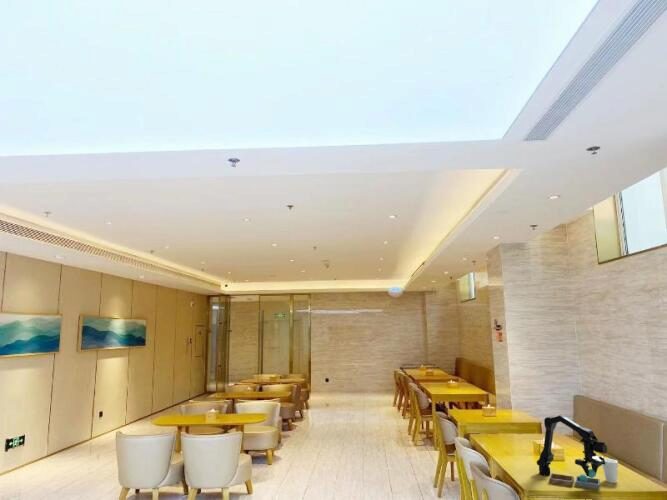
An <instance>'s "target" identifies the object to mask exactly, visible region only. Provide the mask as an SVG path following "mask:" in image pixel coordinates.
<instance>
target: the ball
mask: <svg viewBox="0 0 667 500" xmlns="http://www.w3.org/2000/svg"><path fill="white" fill-rule="evenodd" d="M578 476H579V479H580V481H581V482H584V483H586V482H587V481H588V478H589V477H588V476H587V475H586V474H585V473H584V474H582V473H581V474H580V475H578Z"/></svg>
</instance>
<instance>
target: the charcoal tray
mask: <svg viewBox="0 0 667 500" xmlns="http://www.w3.org/2000/svg"><path fill="white" fill-rule="evenodd" d="M579 476H580V475H576V477H575V480H574V482H575V487H577V488H582V489H583V488H584V489H589V490H595V491H596V490H598V491H600V490H601V489H600V488H601V482H600V481H601V480H600V479H599V478H595V477H593V478H591V477H587V478H588V481H587V482H586V483H584V482H581V481H580V479H579Z"/></svg>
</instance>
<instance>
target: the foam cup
mask: <svg viewBox="0 0 667 500" xmlns="http://www.w3.org/2000/svg"><path fill="white" fill-rule="evenodd" d="M604 460H605V464H602V465H601V466H602V469H603V475H604V478H605V481H606V482H608V483H612V484H617V483H618V468H619V462H618V460H617V459H612V458H604Z"/></svg>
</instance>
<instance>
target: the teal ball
mask: <svg viewBox="0 0 667 500" xmlns="http://www.w3.org/2000/svg"><path fill="white" fill-rule="evenodd" d="M588 471H589V476H588V478H595V477H596V476H595V475H597V473H596V474H595V471H594V470H592V468H590V469H589V468H588Z"/></svg>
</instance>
